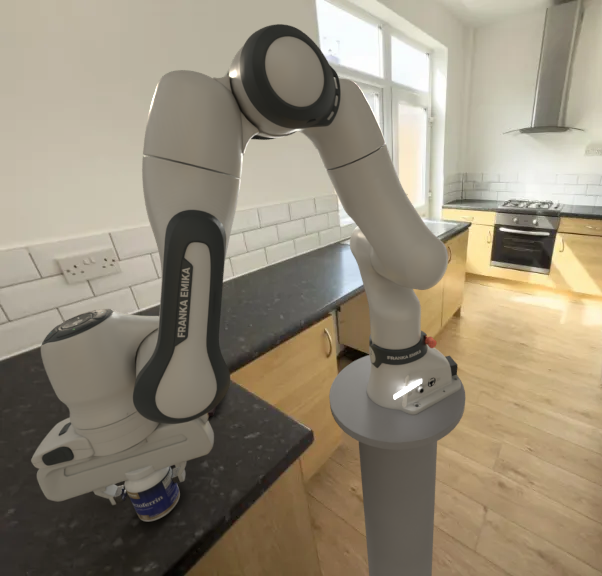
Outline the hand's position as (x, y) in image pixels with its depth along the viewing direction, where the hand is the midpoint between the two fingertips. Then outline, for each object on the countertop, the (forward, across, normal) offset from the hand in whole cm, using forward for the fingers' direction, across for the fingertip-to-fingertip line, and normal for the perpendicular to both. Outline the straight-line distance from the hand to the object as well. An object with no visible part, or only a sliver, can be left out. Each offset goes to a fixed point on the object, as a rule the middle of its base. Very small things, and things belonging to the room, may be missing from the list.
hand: (151, 489), depth 50 cm
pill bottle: (+4, 0, 0) cm, 4 cm away
